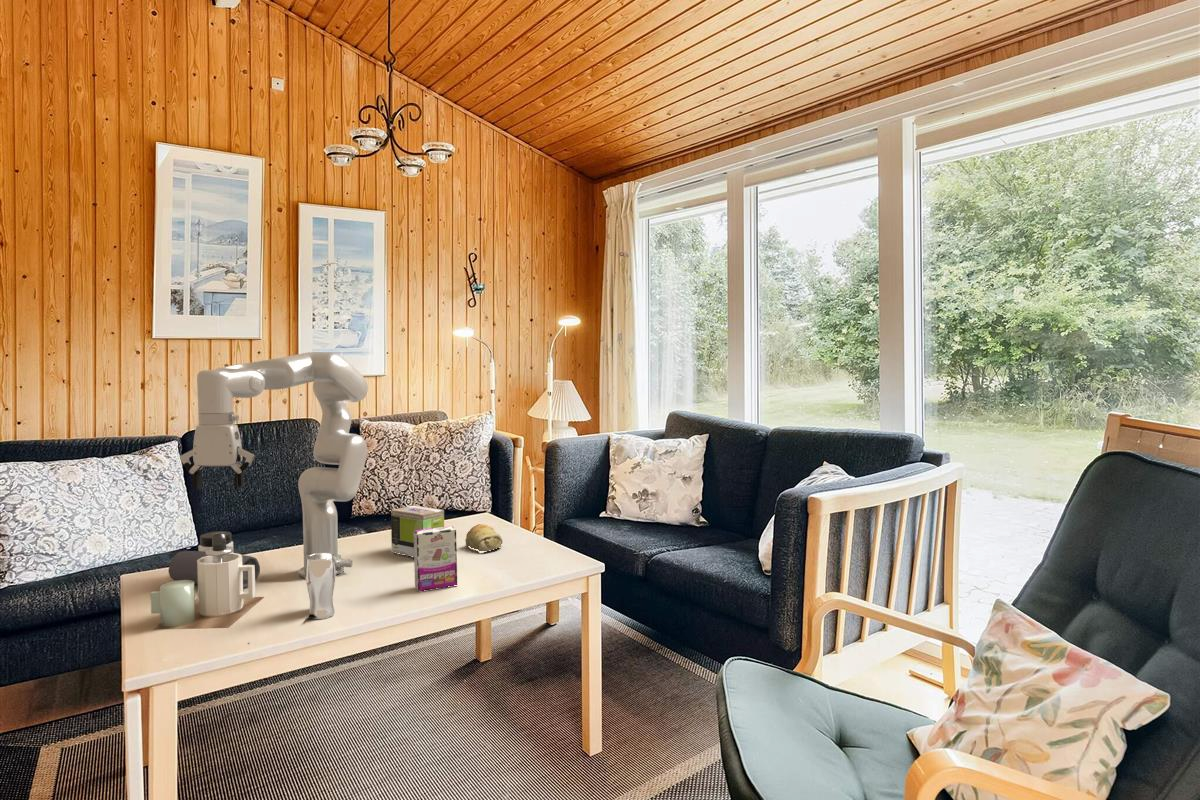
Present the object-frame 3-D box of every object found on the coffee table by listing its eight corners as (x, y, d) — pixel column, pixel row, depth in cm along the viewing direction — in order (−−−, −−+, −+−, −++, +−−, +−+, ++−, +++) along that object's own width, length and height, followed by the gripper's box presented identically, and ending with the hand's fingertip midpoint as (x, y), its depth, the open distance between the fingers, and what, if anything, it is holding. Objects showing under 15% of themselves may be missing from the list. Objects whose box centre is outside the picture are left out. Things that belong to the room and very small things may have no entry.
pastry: (471, 542, 244) (471, 519, 243) (506, 543, 243) (506, 520, 242) (459, 553, 230) (459, 529, 229) (496, 554, 229) (496, 530, 228)
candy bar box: (452, 581, 201) (452, 525, 200) (457, 586, 196) (457, 529, 195) (413, 587, 196) (413, 529, 195) (417, 592, 191) (417, 533, 190)
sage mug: (200, 615, 170) (199, 579, 169) (186, 627, 163) (184, 589, 162) (160, 616, 169) (159, 580, 169) (144, 628, 162) (143, 590, 162)
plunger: (240, 594, 177) (238, 529, 176) (228, 603, 171) (226, 536, 170) (213, 594, 177) (211, 530, 176) (200, 603, 170) (198, 537, 169)
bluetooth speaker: (262, 585, 196) (261, 550, 195) (238, 596, 187) (237, 560, 186) (194, 579, 201) (193, 545, 201) (167, 589, 192) (166, 554, 192)
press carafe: (262, 602, 179) (260, 552, 179) (246, 616, 170) (244, 563, 169) (210, 603, 178) (208, 553, 178) (191, 617, 169) (189, 564, 168)
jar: (200, 581, 200) (199, 539, 199) (198, 573, 207) (197, 533, 206) (235, 575, 205) (234, 535, 204) (232, 568, 212) (231, 529, 211)
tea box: (445, 553, 229) (445, 509, 228) (422, 561, 221) (422, 514, 220) (413, 546, 237) (413, 503, 236) (390, 553, 229) (389, 509, 228)
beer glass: (311, 610, 177) (310, 552, 176) (339, 609, 178) (338, 551, 177) (302, 620, 170) (300, 560, 169) (331, 619, 171) (330, 559, 170)
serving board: (264, 601, 184) (264, 596, 184) (228, 632, 163) (228, 627, 163) (197, 602, 182) (197, 598, 182) (152, 634, 161) (152, 629, 161)
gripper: (258, 418, 176) (260, 485, 177) (187, 418, 174) (189, 486, 175) (246, 421, 168) (248, 491, 169) (171, 421, 167) (173, 492, 168)
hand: (218, 488), depth 172 cm, fingers open, 9 cm apart
